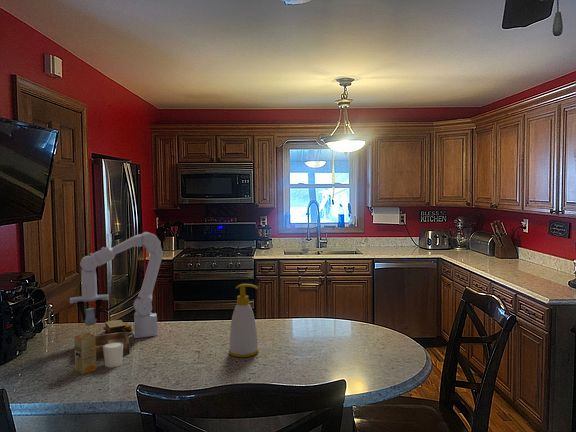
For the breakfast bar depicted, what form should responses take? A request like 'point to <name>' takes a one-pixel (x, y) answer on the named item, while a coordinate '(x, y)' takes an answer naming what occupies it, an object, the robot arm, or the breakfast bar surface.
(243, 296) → the soap bottle
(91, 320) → the peg
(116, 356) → the white cup
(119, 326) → the toy sandwich meal
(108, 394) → the breakfast bar surface
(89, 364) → the shoe polish box
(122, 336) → the box with square hole
